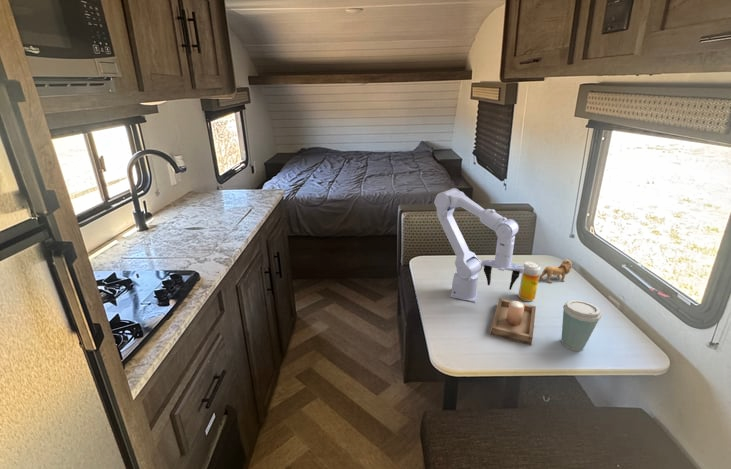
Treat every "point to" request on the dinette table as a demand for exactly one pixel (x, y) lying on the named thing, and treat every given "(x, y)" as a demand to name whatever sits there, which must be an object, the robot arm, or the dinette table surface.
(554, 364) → the dinette table surface
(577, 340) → the disposable coffee cup
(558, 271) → the lion figurine
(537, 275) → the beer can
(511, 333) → the tray
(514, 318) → the tan and white cylinder
